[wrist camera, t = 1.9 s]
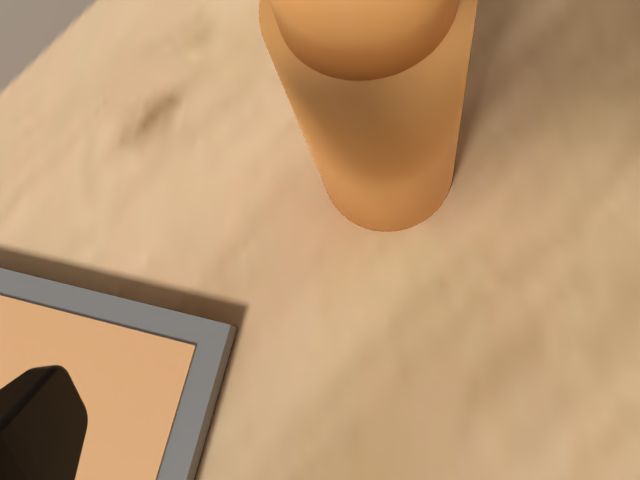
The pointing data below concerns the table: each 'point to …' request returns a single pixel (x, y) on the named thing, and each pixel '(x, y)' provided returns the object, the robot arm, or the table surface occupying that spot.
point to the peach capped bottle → (376, 98)
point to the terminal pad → (120, 372)
